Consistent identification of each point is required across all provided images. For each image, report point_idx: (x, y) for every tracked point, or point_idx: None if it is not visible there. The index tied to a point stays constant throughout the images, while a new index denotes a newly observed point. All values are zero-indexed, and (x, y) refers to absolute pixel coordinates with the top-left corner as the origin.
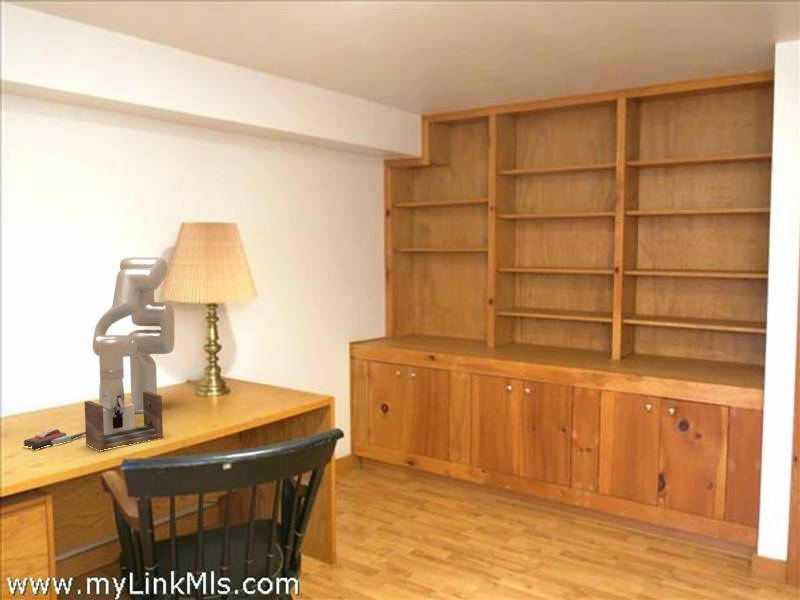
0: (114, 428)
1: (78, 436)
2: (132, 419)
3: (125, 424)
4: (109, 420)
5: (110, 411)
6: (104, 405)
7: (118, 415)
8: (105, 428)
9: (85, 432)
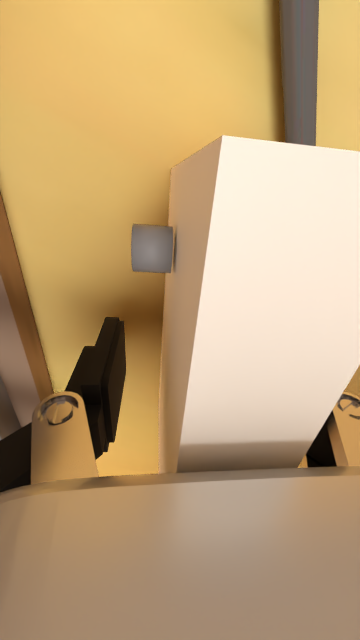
0: (106, 320)
1: (280, 17)
2: (159, 451)
3: (160, 400)
4: (169, 346)
5: (174, 441)
6: (290, 526)
7: (27, 436)
8: (167, 278)
9: (296, 135)
